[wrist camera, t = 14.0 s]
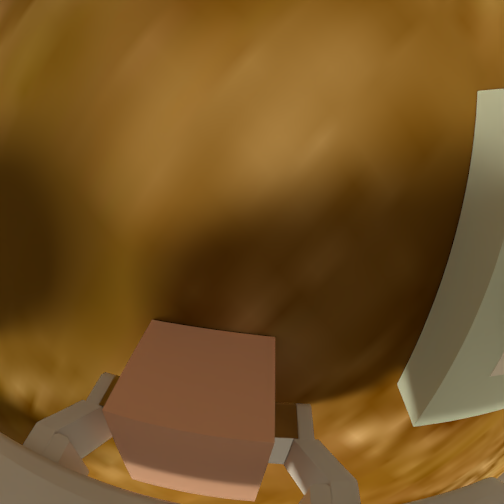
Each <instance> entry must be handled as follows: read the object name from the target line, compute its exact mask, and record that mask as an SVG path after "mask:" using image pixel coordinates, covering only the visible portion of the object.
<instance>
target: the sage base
mask: <svg viewBox="0 0 504 504" xmlns="http://www.w3.org/2000/svg"><path fill="white" fill-rule="evenodd" d="M397 385H398V388H399V390H400V393H401V395H402V398H403V401H404V403H405V406H406V408H407V411H408V414H409V416H410V419H411V422H412V424H413V427H414V426H422V425H429V424H435V423H442V422H447V421H453V420H458V419H463V418H468V417H472V416H477V415H481V414H485V413H489V412H493V411H497V410H501V409H504V89H494V90H483V91H478V93H477V111H476V123H475V133H474V142H473V150H472V157H471V164H470V170H469V176H468V181H467V187H466V192H465V197H464V201H463V206H462V210H461V215H460V219H459V223H458V227H457V231H456V234H455V238H454V242H453V245H452V249H451V252H450V256H449V259H448V262H447V265H446V268H445V272H444V275H443V278H442V281H441V283H440V286H439V289H438V292H437V295H436V297H435V300H434V303H433V305H432V308H431V311H430V313H429V316H428V318H427V321H426V323H425V325H424V328H423V330H422V333H421V335H420V337H419V339H418V342H417V344H416V346H415V348H414V351H413V353H412V355H411V357H410V359H409V361H408V363H407V365H406V367H405V369H404V371H403V373H402V375H401V377H400V379H399V381H398V383H397Z"/></svg>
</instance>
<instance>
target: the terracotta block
mask: <svg viewBox="0 0 504 504" xmlns="http://www.w3.org/2000/svg"><path fill="white" fill-rule="evenodd" d="M102 411H103V414H104V417H105V419H106V422H107V424H108V427H109V429H110V432H111V434H112V437H113V439H114V441H115V444H116V446H117V448H118V450H119V453H120V455H121V457H122V459H123V461H124V463H125V466H126V468H127V470H128V472H129V474H130V476H131V478H132V479H134V480H138V481H141V482H145V483H149V484H153V485H156V486H161V487H165V488H169V489H174V490H178V491H183V492H188V493H194V494H199V495H205V496H212V497H219V498H227V499H236V500H246V501H255V498H256V496H257V493H258V490H259V487H260V485H261V482H262V479H263V476H264V473H265V470H266V467H267V464H268V461H269V458H270V455H271V452H272V449H273V446H274V443H275V337H270V336H261V335H252V334H243V333H235V332H228V331H220V330H213V329H206V328H199V327H193V326H186V325H180V324H174V323H168V322H162V321H157V320H152V321H151V322H150V324H149V326H148V328H147V329H146V331H145V333H144V335H143V336H142V338H141V340H140V342H139V343H138V345H137V347H136V349H135V350H134V352H133V354H132V356H131V358H130V359H129V361H128V363H127V365H126V367H125V368H124V370H123V372H122V374H121V376H120V377H119V379H118V381H117V383H116V385H115V387H114V389H113V390H112V392H111V394H110V396H109V398H108V400H107V402H106V404H105V405H104V407H103V409H102Z"/></svg>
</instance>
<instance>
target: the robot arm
mask: <svg viewBox="0 0 504 504" xmlns="http://www.w3.org/2000/svg"><path fill="white" fill-rule="evenodd" d="M119 377H120V376H117V375H113V374H110V373H106V372H105V373H103V374H102V375H101V376H100V378H99V380H98V381H97V383H96V385H95V386H94V388H93V390H92V391H91V393H90V395H89V396H88V398H87V400H86V401H85V400H81V401H79V402H77V403H75V404H73V405H71V406H69V407H67V408H65V409H63V410H61V411H59V412H57V413H55V414H53V415H51V416H49V417H47V418H45V419H43V420H41V421H38V422H37V423H36V424H35V426H34V427H33V429H32V431H31V432H30V434H29V435H28V437H27V439H26V440H25V442H24V444H23V445H21V444H20V443H18V442H16V441H14V440H13V439H11V438H9V437H8V436H6V435H4V434H3V433H1V432H0V504H179V503H174V502H170V501H165V500H161V499H157V498H153V497H149V496H145V495H142V494H138V493H135V492H131V491H128V490H125V489H122V488H119V487H116V486H113V485H110V484H107V483H104V482H101V481H99V480H96V479H93V478H91V477H88V476H87V475H88V473H89V470H88V468H87V467H86V465H85V464H84V462H83V461H82V458H83V457H85V456H86V455H88V454H89V453H90V452H92V451H93V450H95V449H96V448H97V447H99V446H100V445H102V444H103V443H104V442H106V441H107V440H108V439H110V438H111V437H112V434H111V432H110V429H109V427H108V424H107V422H106V419H105V417H104V414H103V411H102V409H103V407H104V405H105V404H106V402H107V400H108V398H109V396H110V394H111V392H112V390H113V389H114V387H115V385H116V383H117V381H118V379H119ZM268 463H275V464H284V466H285V467H286V469H287V470H288V472H289V473H290V475H291V476H292V478H293V479H294V481H295V482H296V484H297V485H298V487H299V488H300V490H301V491H302V492H303V494H304V497H303V498H302V499H301V501H300V502H299V504H361V502H360V496H359V489H358V483H357V480H356V479H355V478H354V477H353V476H352V475H351V474H350V473H349V472H348V471H347V470H346V469H345V468H344V467H343V465H342V464H341V463H340V462H339V461H338V460H337V459H336V458H335V457H334V456H333V455H332V454H331V453H330V452H329V451H328V449H327V448H326V447H325V446H324V445H323V444H322V443H321V442H320V441H319V440H314V430H313V420H312V411H311V405H310V404H299V403H296V404H295V403H284V402H275V443H274V446H273V449H272V452H271V455H270V458H269V461H268ZM404 504H504V483H503V482H502V481H500V480H498V479H496V478H494V477H490V478H486V479H483V480H481V481H478V482H476V483H473V484H470V485H467V486H465V487H462V488H459V489H456V490H453V491H449V492H446V493H443V494H439V495H436V496H432V497H429V498H425V499H421V500H417V501H413V502H408V503H404Z"/></svg>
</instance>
